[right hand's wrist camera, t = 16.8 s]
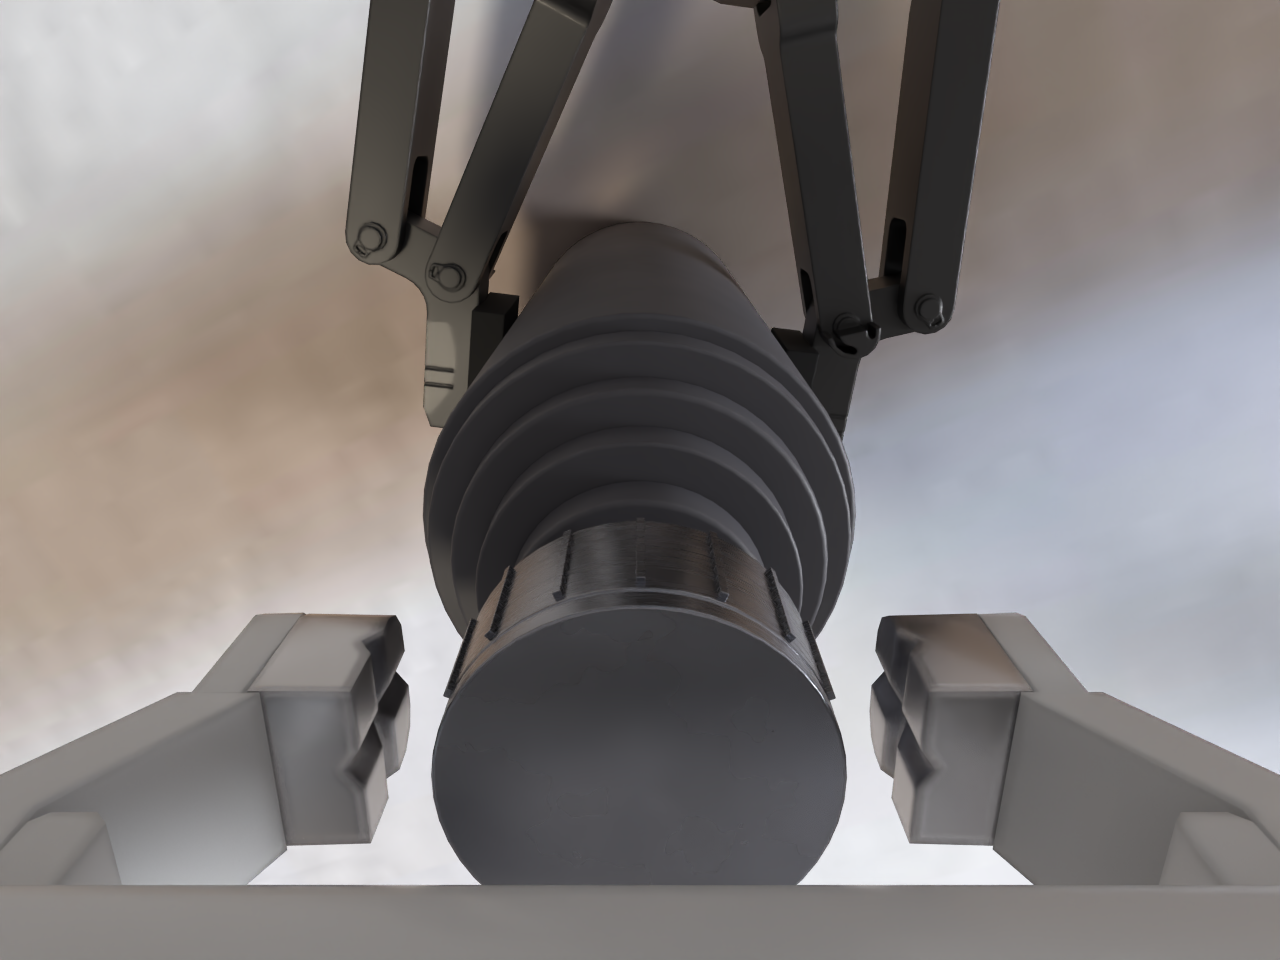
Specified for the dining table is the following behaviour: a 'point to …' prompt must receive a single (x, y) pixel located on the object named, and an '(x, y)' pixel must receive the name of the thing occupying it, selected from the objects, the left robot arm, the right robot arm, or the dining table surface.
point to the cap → (639, 720)
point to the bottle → (639, 427)
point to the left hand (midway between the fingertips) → (616, 557)
